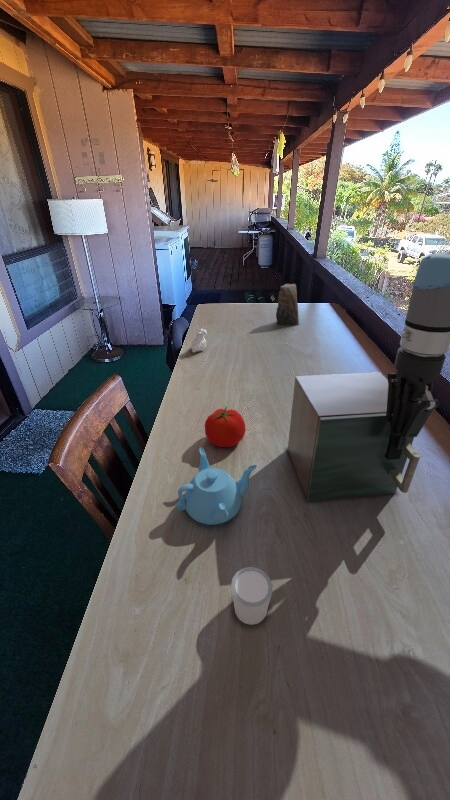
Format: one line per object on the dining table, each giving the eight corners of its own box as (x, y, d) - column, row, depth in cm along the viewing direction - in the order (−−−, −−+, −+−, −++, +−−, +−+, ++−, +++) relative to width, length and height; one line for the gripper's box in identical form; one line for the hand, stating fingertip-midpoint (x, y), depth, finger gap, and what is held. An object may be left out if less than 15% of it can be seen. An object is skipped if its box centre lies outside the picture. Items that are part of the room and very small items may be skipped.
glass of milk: (222, 608, 61) (222, 585, 58) (249, 582, 66) (250, 559, 62) (252, 639, 57) (253, 616, 54) (278, 609, 61) (281, 585, 58)
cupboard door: (408, 513, 79) (440, 429, 67) (315, 522, 77) (331, 437, 65) (393, 491, 85) (419, 410, 73) (306, 498, 83) (319, 417, 71)
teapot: (168, 515, 79) (164, 482, 74) (204, 475, 90) (202, 443, 85) (224, 543, 73) (224, 509, 68) (255, 495, 84) (257, 463, 79)
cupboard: (392, 491, 85) (419, 409, 73) (306, 498, 83) (318, 416, 71) (361, 445, 100) (379, 371, 88) (287, 450, 99) (295, 376, 86)
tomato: (236, 426, 109) (236, 398, 104) (251, 448, 100) (252, 418, 94) (199, 435, 105) (197, 406, 100) (212, 458, 96) (210, 427, 91)
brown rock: (275, 325, 191) (277, 287, 180) (274, 318, 201) (276, 282, 191) (298, 325, 190) (302, 288, 179) (296, 318, 200) (300, 282, 190)
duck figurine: (196, 359, 157) (210, 341, 152) (183, 349, 156) (197, 330, 150) (203, 349, 167) (216, 332, 162) (190, 339, 166) (203, 322, 160)
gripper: (383, 339, 66) (361, 441, 77) (423, 365, 55) (390, 479, 66) (420, 337, 67) (393, 439, 78) (467, 362, 56) (428, 476, 67)
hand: (392, 457), depth 72 cm, fingers closed
